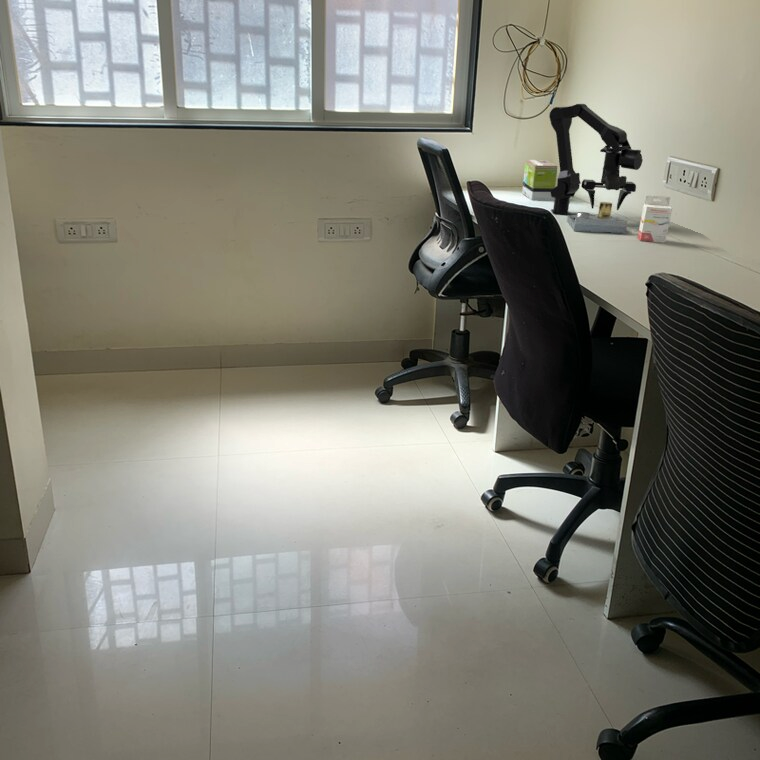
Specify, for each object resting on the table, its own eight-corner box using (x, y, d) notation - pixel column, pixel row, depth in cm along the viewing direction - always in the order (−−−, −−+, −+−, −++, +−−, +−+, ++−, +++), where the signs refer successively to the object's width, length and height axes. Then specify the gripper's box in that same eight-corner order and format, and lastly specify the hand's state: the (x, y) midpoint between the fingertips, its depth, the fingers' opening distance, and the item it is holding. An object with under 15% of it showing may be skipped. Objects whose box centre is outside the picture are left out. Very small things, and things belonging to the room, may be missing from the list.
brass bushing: (596, 220, 293) (599, 201, 290) (607, 221, 293) (610, 202, 290) (598, 222, 289) (601, 203, 286) (610, 223, 289) (613, 204, 286)
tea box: (521, 194, 339) (525, 159, 333) (543, 194, 340) (547, 159, 335) (530, 200, 326) (535, 164, 320) (554, 201, 327) (558, 164, 321)
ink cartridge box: (640, 241, 264) (648, 197, 258) (637, 237, 268) (644, 194, 263) (666, 242, 263) (674, 198, 257) (662, 239, 268) (670, 196, 262)
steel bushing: (574, 225, 283) (576, 211, 281) (586, 225, 283) (588, 212, 281) (576, 227, 279) (578, 214, 277) (588, 228, 279) (590, 214, 277)
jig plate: (566, 221, 289) (568, 209, 287) (615, 224, 288) (617, 211, 286) (574, 231, 274) (575, 218, 272) (625, 233, 273) (627, 221, 272)
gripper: (589, 168, 276) (583, 212, 282) (643, 170, 275) (635, 214, 281) (584, 163, 286) (578, 206, 292) (635, 166, 285) (628, 208, 292)
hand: (604, 209), depth 289 cm, fingers open, 9 cm apart
